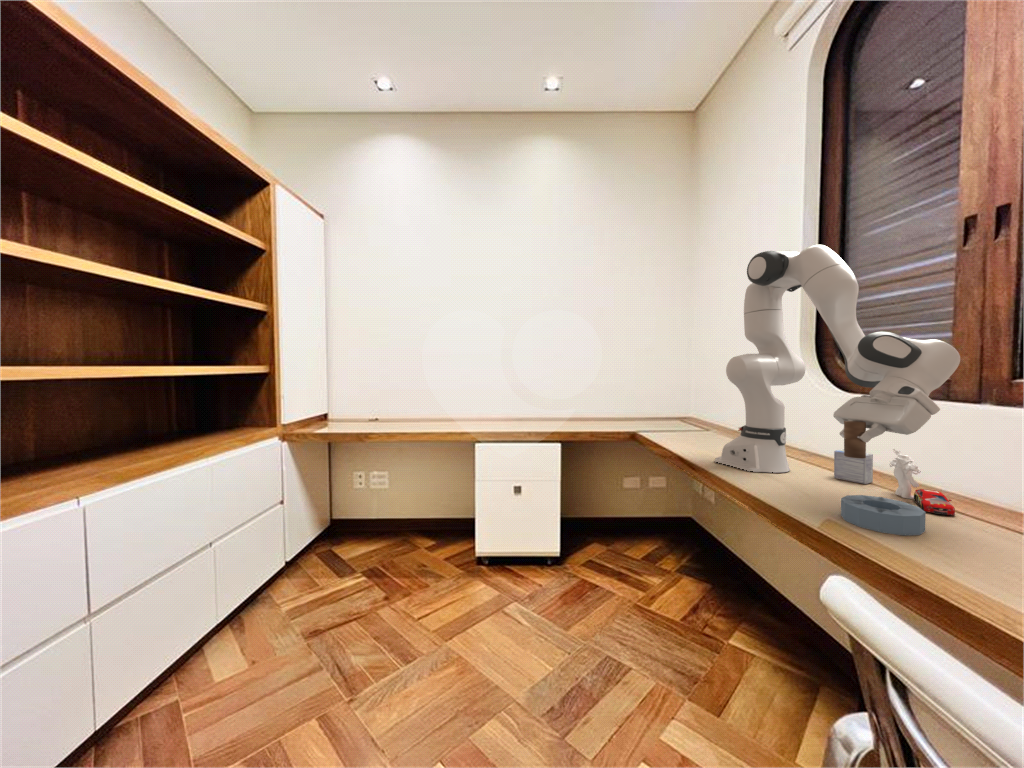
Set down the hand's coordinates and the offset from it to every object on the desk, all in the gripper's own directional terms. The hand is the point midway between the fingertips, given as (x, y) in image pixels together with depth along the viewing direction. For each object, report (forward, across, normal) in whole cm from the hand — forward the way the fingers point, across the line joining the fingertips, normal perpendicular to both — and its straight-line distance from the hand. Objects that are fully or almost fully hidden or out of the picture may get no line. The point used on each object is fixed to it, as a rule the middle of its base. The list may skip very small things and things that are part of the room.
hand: (852, 438), depth 95 cm
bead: (+13, +10, +11) cm, 20 cm away
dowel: (+3, 0, +4) cm, 4 cm away
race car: (-1, 0, +26) cm, 26 cm away
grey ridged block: (-1, -23, +25) cm, 34 cm away
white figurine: (-2, -9, +26) cm, 27 cm away
